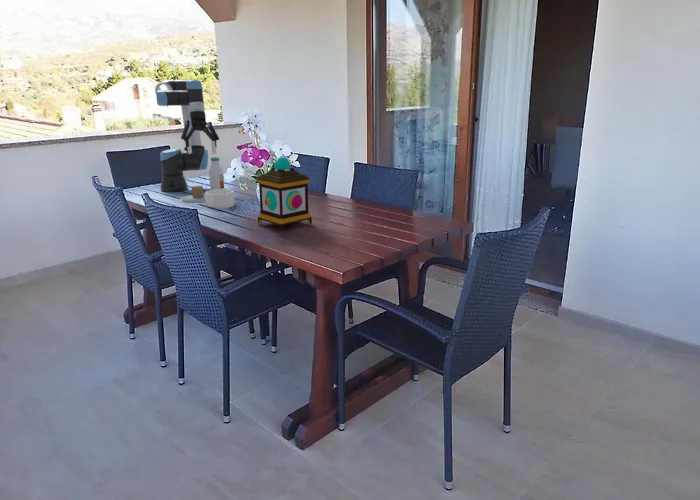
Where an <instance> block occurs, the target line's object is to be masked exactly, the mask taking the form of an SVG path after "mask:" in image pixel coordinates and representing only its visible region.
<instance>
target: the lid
mask: <svg viewBox="0 0 700 500" xmlns="http://www.w3.org/2000/svg"><path fill="white" fill-rule="evenodd" d="M191 192H192V194H189V195H185V196H183V197H181V199H182V201H183V202H182V203H184V202H186V203H185V204H189V203H202V204H204V203H203V202H205V193H204V187H203V186H202V185H193V186H191Z"/></svg>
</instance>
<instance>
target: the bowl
mask: <svg viewBox="0 0 700 500" xmlns="http://www.w3.org/2000/svg"><path fill="white" fill-rule="evenodd" d="M234 192H235V190H234V189H229V188H224V189H214V190H206V191H205V193H204V194H205V202H206V203H205V207H210V208H213V209H218V208H220V209H229V208H232V207H234V206H235V193H234Z"/></svg>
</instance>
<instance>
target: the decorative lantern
mask: <svg viewBox="0 0 700 500" xmlns="http://www.w3.org/2000/svg"><path fill="white" fill-rule="evenodd" d="M255 180H256V182H257V183H258V189H259V192H258V193H259V207H260V212H259V214H258V216H257V223H258V225H262V224H263V221H264V222H267V223H270V224H274V225H276V226H278V227H279V231H280V233H281V232H284V226H286V225H290V224H296V223H300V222H304V221H307V225H309V226H310V225H312V222H313V220H312V216H311V214H310V211H309V195H308V194H309V187H308V186H309V183H310V180H311V179H310V178H309V176H307V175H306V174H304V173H300V172H298V170H296V169H294V167H292V166H291V161H290V160H289V159H287V157H284V156H281V157H279V158H277V160H276V161H275V162H274V167H272V168H271V169H270V170H269V171H267V172H266V173H262V174H260V176H257V178H256V179H255Z"/></svg>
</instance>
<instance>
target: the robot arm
mask: <svg viewBox="0 0 700 500" xmlns="http://www.w3.org/2000/svg"><path fill="white" fill-rule="evenodd" d="M202 84H203V83H202V81H200V80H198V79H167V80H166V79H165V80H163V81H160V82H159V83H157V84H156V85H155V88H154V92H155V95H156V97H155V98H156V104H157V106H160V107H161V106H163V107H167V106H171V107H172V106H180V107H181V108H180V109H181V114H182V122H183V130H182V134H181V136H180V139H181V140H183V141H184V143H185V146H184V148H183V150H182V149H181V148H170V149H166V150H162V151H161V152H160V153H159V154H160V159H159V160H160V166H161V173H162V174H161V176H162V178H161V181H160V182H161V183H160V191H162V192H165V193H166V192H169V193H172V192H173V193H174V192H181V191H182V192H183V191H186V190H188V189H189V187H188V183H187V181H186V179H185V176H184V172H190V171H204V170H207V168H208V166H209V163H208V162H209V151H208V150H207V149H206V148H205V146H204V145H203V144H202V140H201V139H202V138H201V132H203V133H204V134H205V135H206V136H207V137H208V138H209V139H210V145H211V146H210V147H211V154H212V155H215V154H217V149H216V148H218V147H217V141H219V140H220V137H219V135H218V133H217V131H216V130H215V128H214V126H213V122H212V121H209V122H207V120H206V118H207V116H206V112H205V111H206V110H205V102H204V94H203V86H202Z"/></svg>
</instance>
